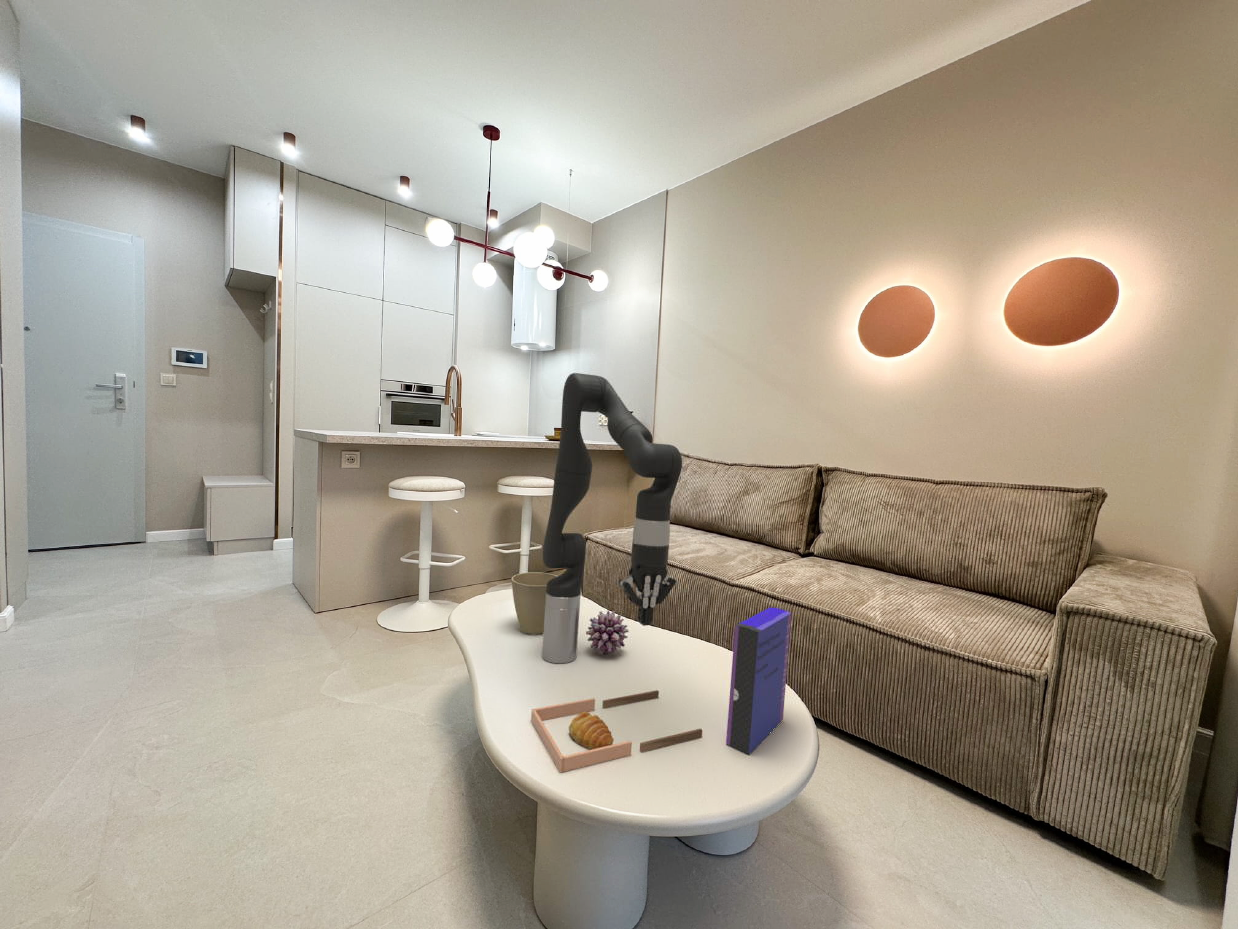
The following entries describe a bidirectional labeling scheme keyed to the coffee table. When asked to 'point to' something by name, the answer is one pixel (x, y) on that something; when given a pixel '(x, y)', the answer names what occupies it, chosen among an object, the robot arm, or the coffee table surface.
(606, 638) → the purple spiky ball
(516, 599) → the plant pot
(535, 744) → the coffee table surface
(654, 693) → the walnut chute
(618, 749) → the terracotta pen
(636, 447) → the robot arm
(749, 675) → the cereal box
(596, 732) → the pastry
